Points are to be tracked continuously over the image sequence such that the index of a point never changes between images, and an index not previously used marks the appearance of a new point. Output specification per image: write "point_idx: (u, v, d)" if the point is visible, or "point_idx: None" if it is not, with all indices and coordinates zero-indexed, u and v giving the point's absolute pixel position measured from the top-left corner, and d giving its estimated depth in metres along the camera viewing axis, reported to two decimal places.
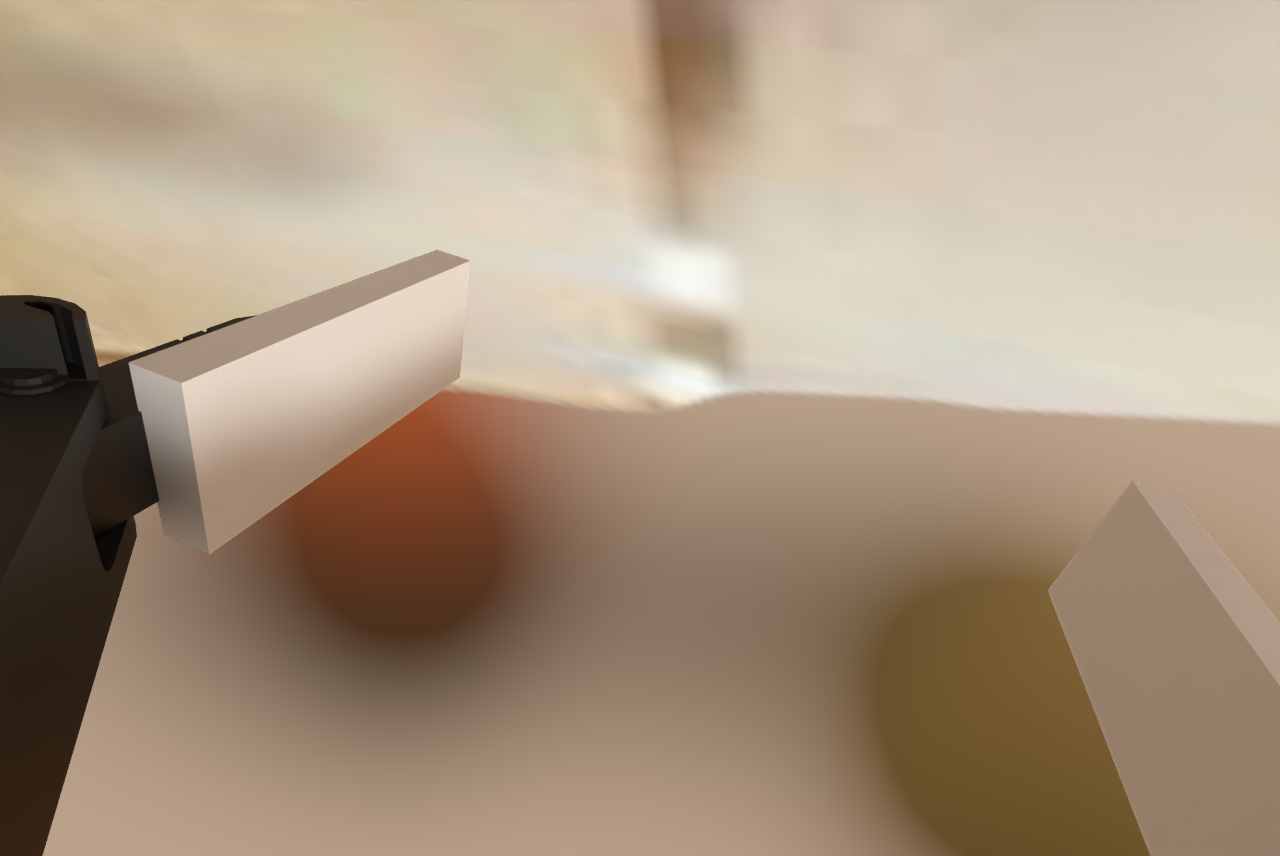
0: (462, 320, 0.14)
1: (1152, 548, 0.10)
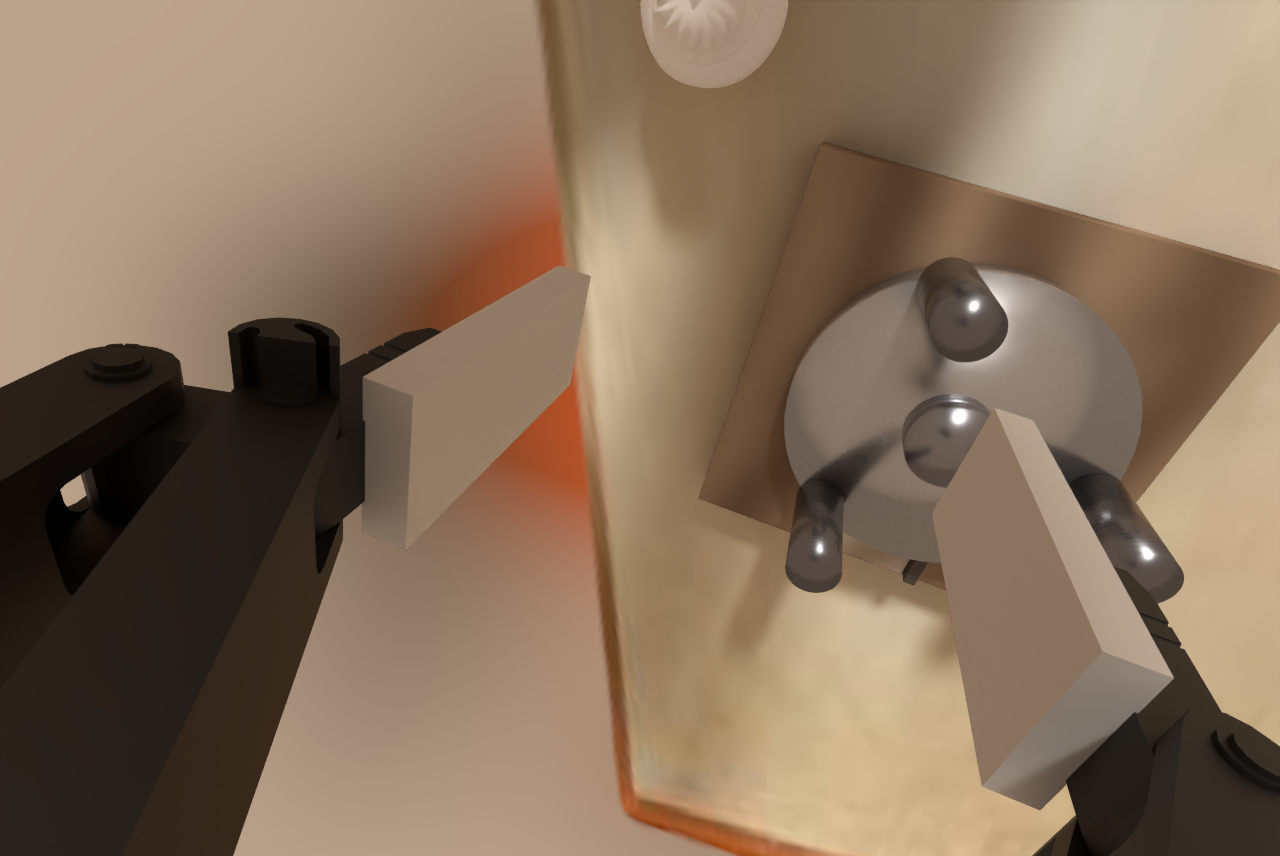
0: (578, 331, 0.14)
1: (999, 459, 0.11)
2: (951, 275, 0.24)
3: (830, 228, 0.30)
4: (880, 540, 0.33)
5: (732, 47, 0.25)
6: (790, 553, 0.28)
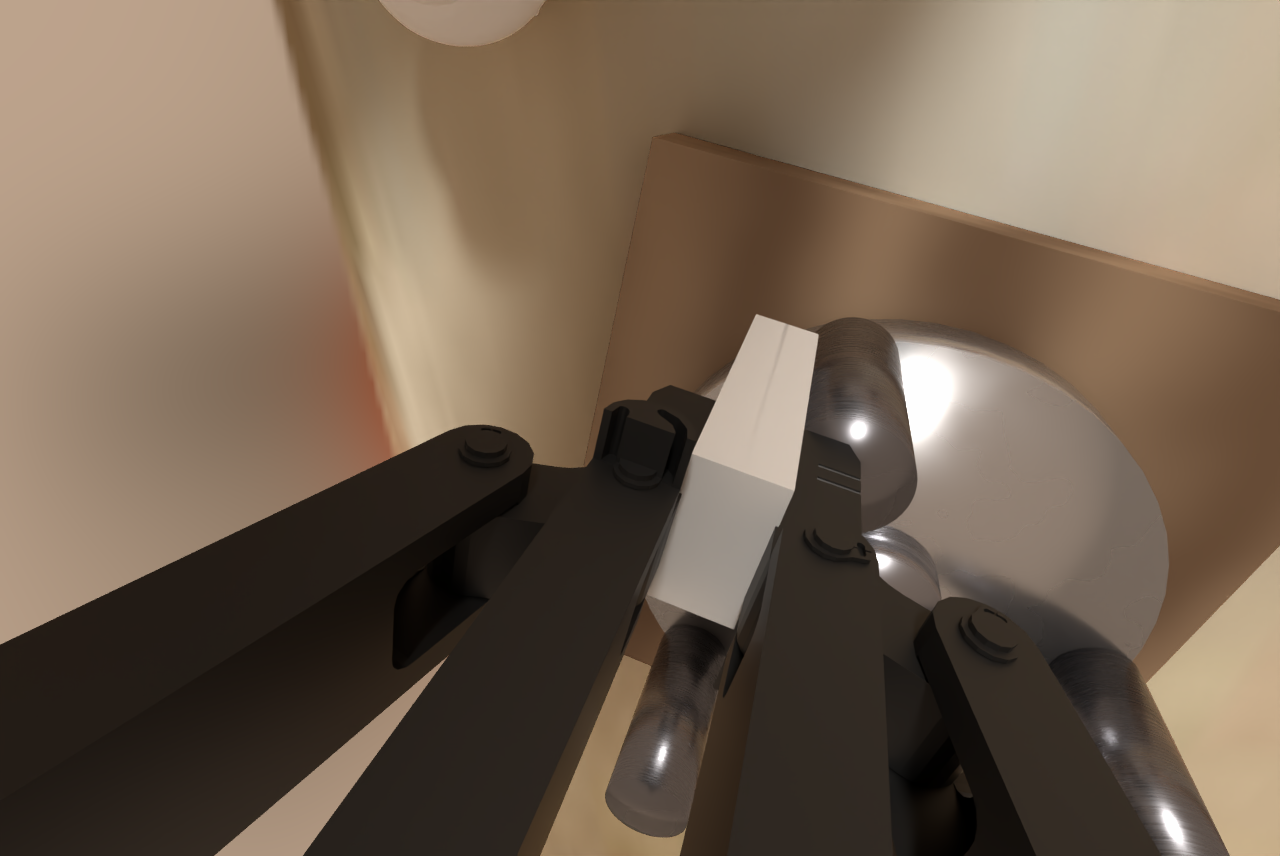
0: None
1: None
2: (834, 360, 0.14)
3: (681, 264, 0.19)
4: None
5: None
6: (612, 778, 0.18)
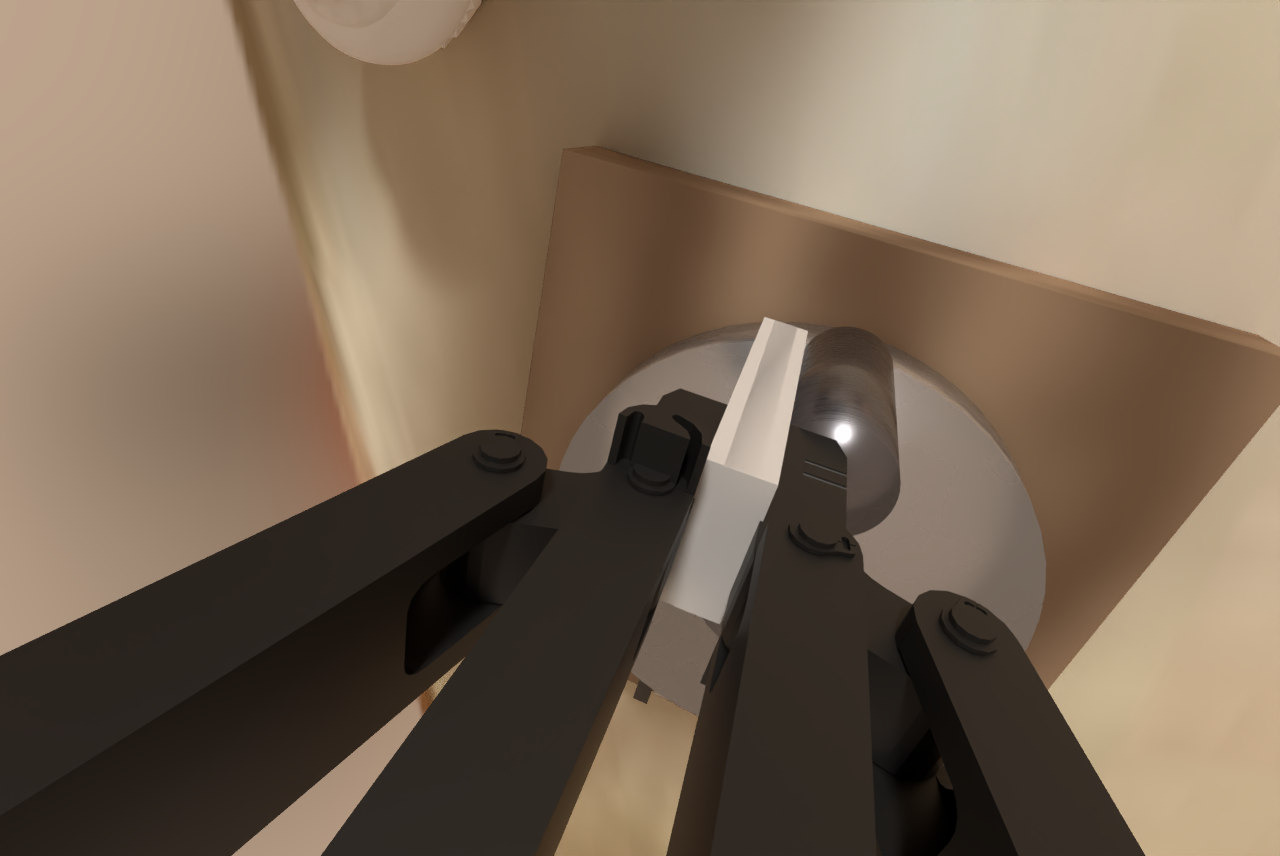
0: None
1: None
2: (847, 365, 0.14)
3: (595, 269, 0.20)
4: (638, 664, 0.24)
5: None
6: None
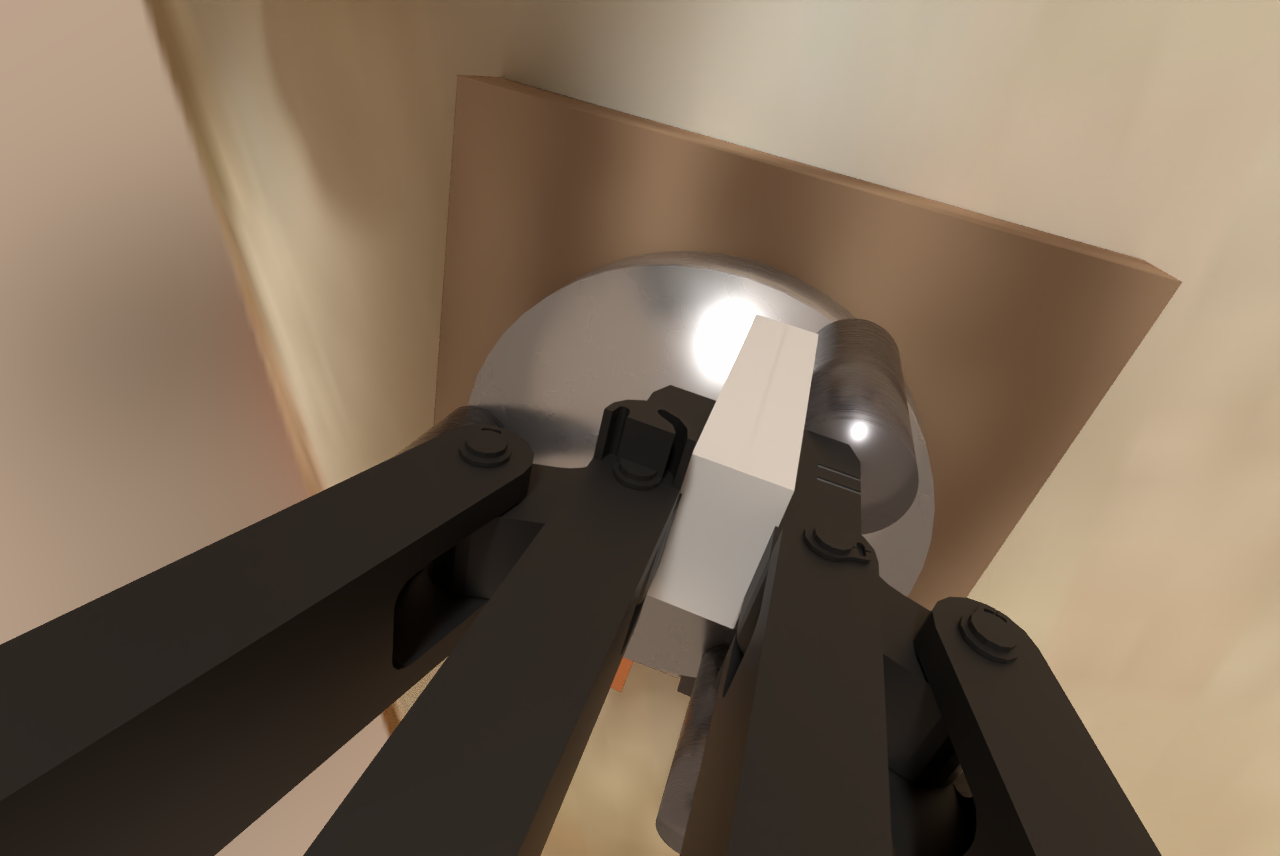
0: None
1: None
2: (886, 370, 0.13)
3: (498, 202, 0.20)
4: None
5: None
6: None
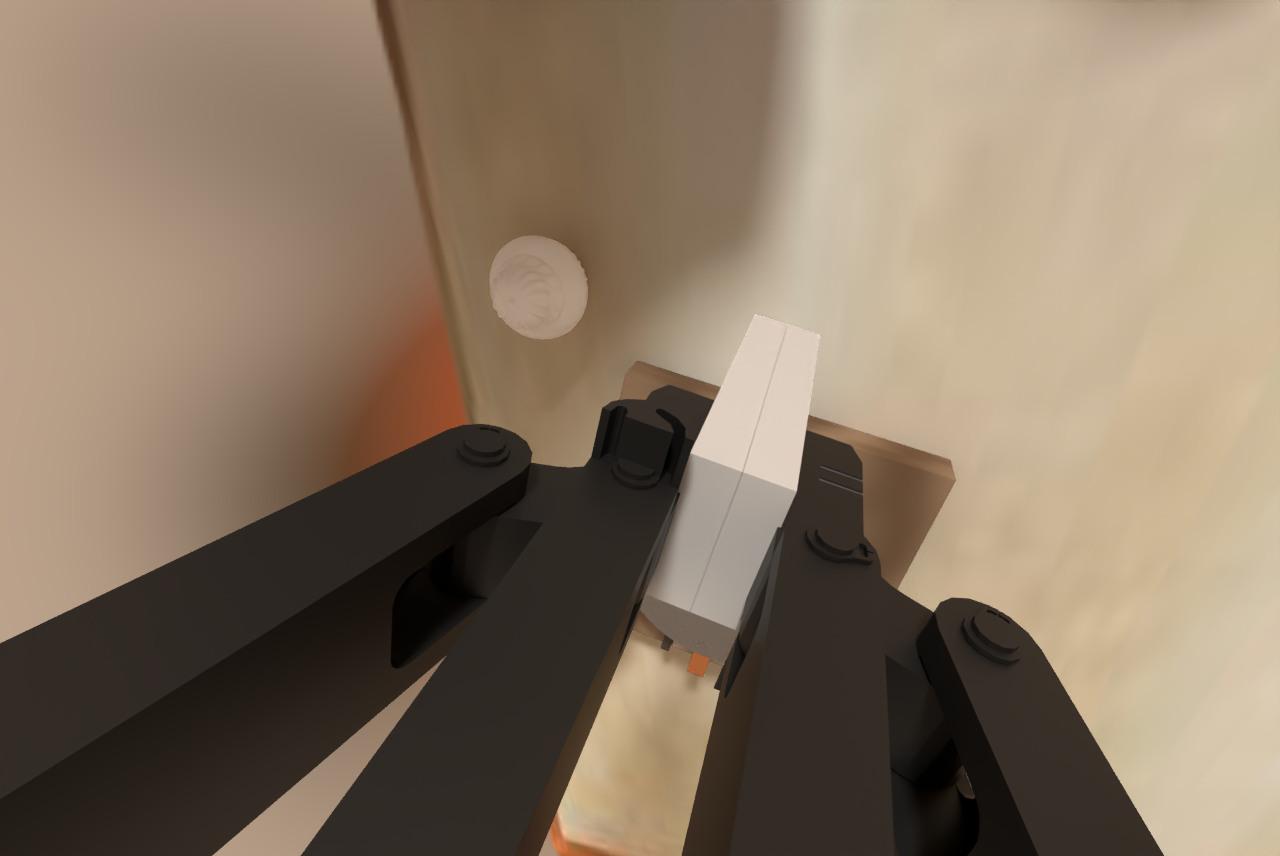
0: None
1: None
2: None
3: None
4: None
5: (547, 324, 0.37)
6: None
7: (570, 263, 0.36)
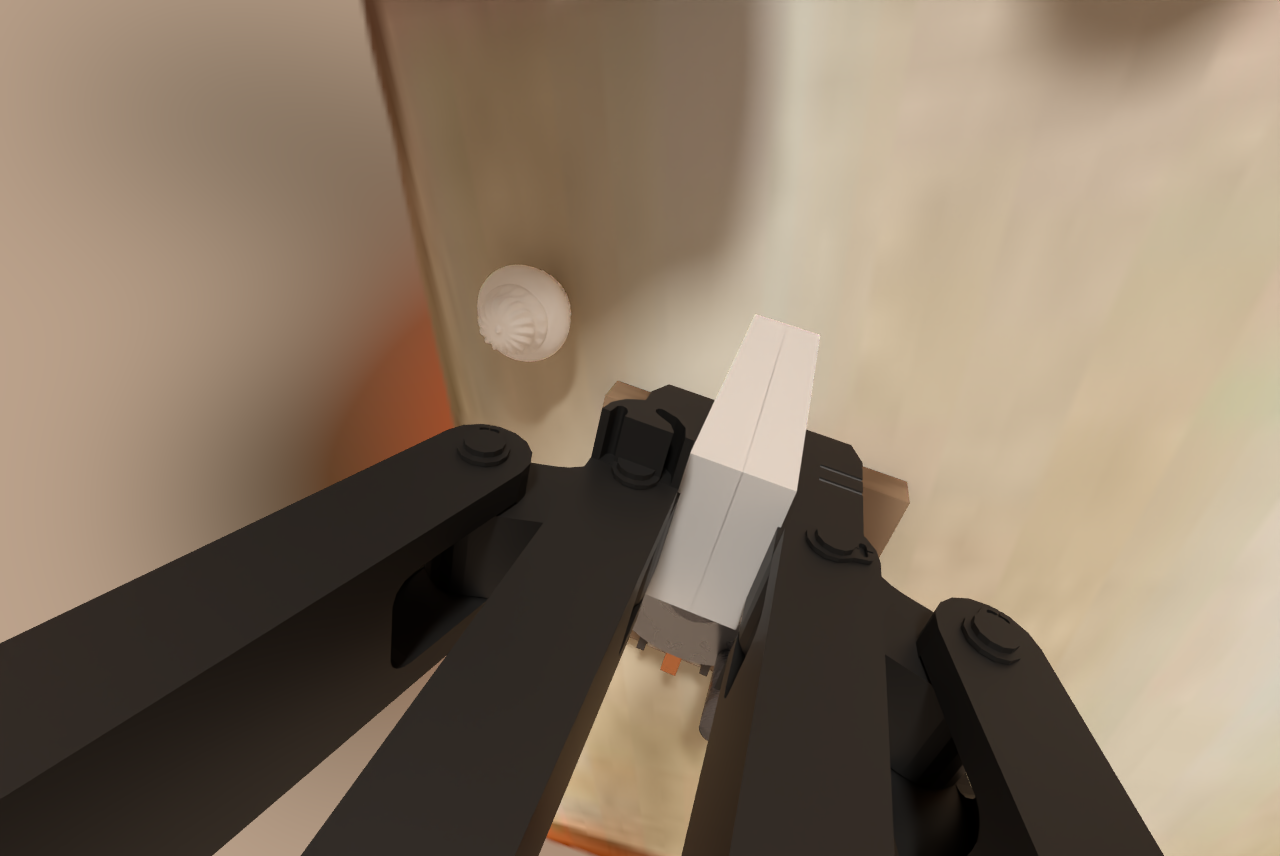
0: None
1: None
2: None
3: None
4: None
5: (531, 349, 0.39)
6: None
7: (554, 293, 0.38)
